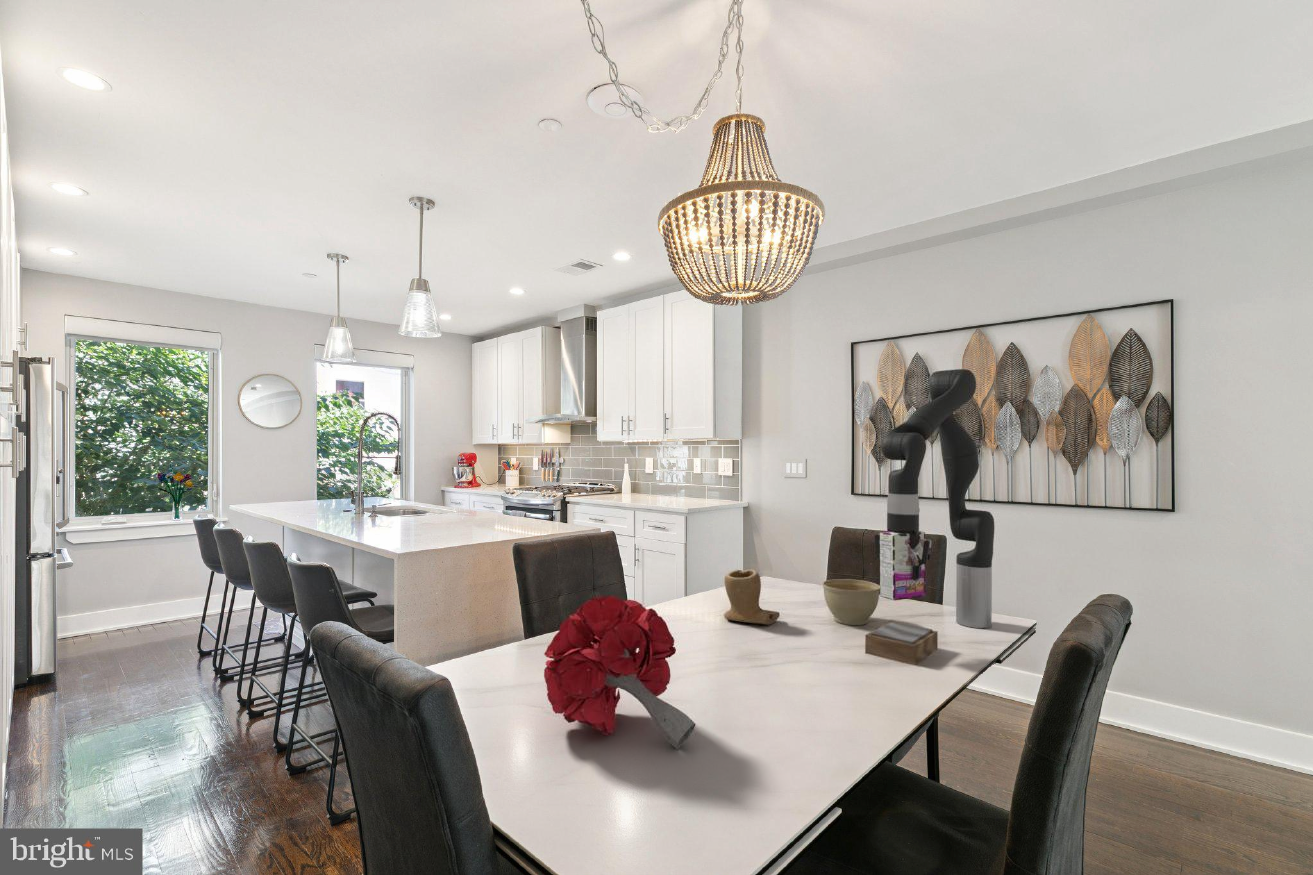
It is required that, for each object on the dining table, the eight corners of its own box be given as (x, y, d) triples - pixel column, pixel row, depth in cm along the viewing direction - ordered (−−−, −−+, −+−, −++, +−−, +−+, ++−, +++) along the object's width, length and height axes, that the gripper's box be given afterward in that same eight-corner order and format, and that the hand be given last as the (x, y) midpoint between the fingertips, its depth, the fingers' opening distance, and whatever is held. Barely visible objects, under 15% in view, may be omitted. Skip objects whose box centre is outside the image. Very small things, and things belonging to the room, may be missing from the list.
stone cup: (716, 623, 177) (717, 571, 177) (732, 613, 187) (732, 564, 187) (766, 631, 169) (767, 577, 169) (780, 621, 180) (780, 569, 180)
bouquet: (692, 750, 116) (585, 646, 130) (746, 657, 108) (626, 557, 122) (624, 815, 98) (508, 686, 112) (683, 708, 91) (551, 585, 104)
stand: (890, 638, 164) (890, 619, 164) (937, 649, 156) (937, 629, 156) (865, 653, 152) (865, 632, 152) (914, 665, 144) (914, 643, 144)
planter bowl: (885, 619, 183) (885, 582, 183) (872, 633, 169) (873, 593, 169) (831, 611, 191) (831, 576, 191) (815, 623, 178) (815, 585, 178)
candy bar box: (910, 592, 159) (910, 529, 159) (926, 596, 155) (926, 531, 155) (878, 596, 154) (878, 531, 154) (893, 601, 150) (894, 533, 150)
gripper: (869, 510, 157) (868, 575, 157) (927, 515, 147) (926, 585, 147) (880, 508, 162) (880, 571, 162) (937, 512, 153) (937, 580, 152)
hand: (902, 577), depth 154 cm, fingers closed on candy bar box, 6 cm apart
